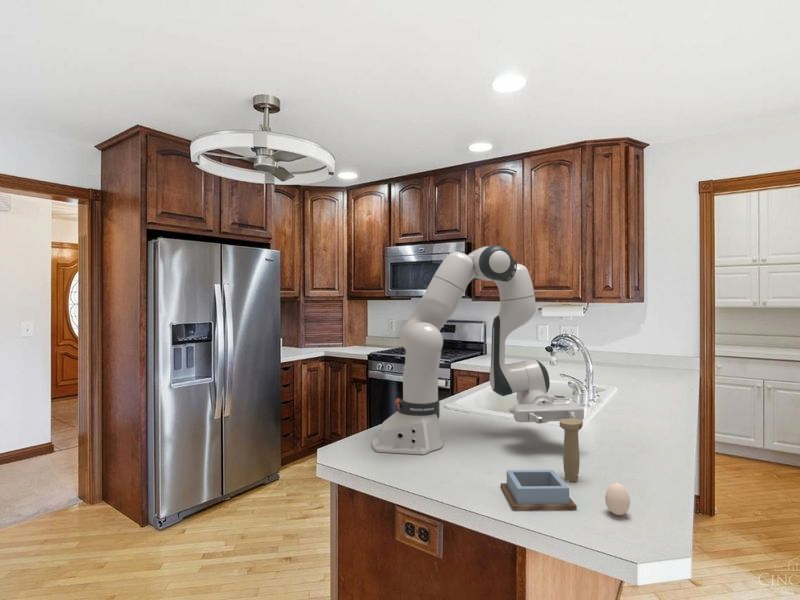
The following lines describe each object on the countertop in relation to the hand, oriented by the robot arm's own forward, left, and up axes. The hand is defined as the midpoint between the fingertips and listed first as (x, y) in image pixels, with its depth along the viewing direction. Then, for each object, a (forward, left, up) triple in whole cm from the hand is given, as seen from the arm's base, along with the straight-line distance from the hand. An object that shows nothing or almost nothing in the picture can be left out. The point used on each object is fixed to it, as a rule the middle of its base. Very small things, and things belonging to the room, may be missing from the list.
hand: (556, 420), depth 127 cm
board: (-12, -22, -12) cm, 28 cm away
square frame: (-12, -22, -12) cm, 28 cm away
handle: (0, -12, -12) cm, 17 cm away
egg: (+3, -30, -12) cm, 33 cm away
